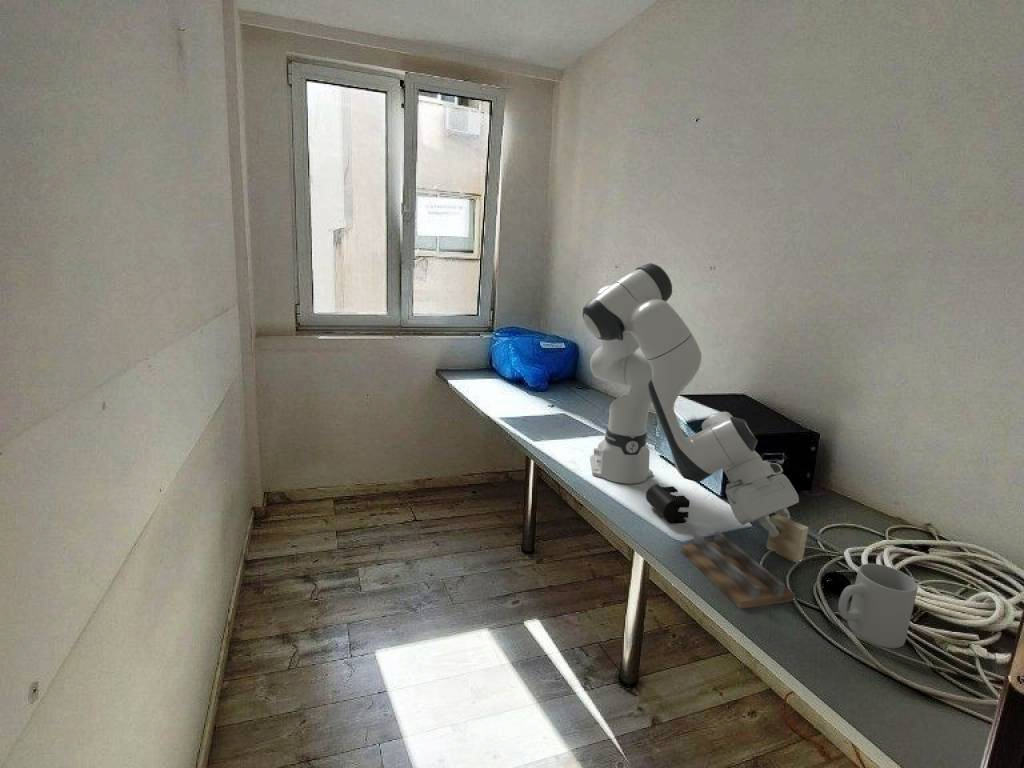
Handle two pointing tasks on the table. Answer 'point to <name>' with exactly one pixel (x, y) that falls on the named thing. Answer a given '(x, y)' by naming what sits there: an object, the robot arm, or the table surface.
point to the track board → (736, 572)
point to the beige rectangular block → (788, 538)
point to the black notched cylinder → (668, 503)
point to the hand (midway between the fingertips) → (783, 532)
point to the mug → (879, 605)
